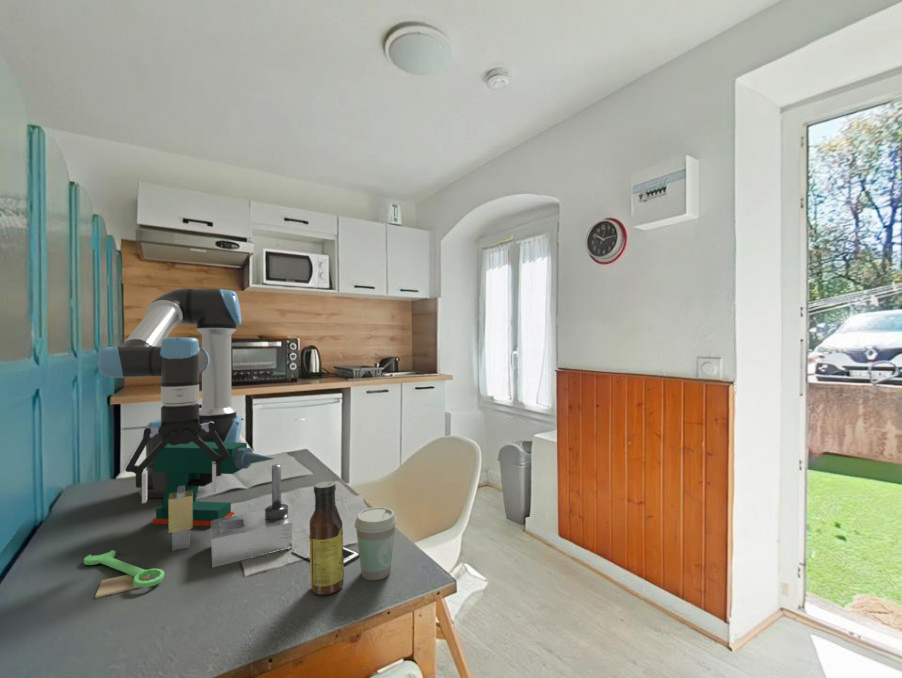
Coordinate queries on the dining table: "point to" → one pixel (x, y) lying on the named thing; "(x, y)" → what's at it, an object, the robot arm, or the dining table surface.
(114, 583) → the key mat
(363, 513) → the coffee cup
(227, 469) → the power tool
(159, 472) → the robot arm
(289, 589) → the dining table surface
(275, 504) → the block
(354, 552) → the cell phone
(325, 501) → the sauce bottle
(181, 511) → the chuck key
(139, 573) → the wrench
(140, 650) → the dining table surface
